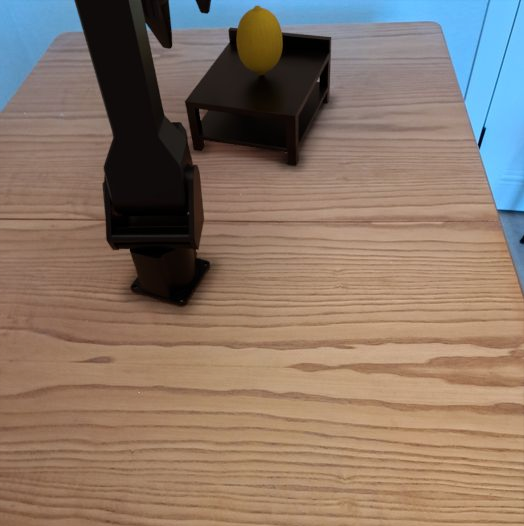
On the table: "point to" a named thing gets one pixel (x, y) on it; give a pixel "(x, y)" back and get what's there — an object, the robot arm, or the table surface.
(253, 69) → the lemon
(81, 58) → the table surface
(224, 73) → the dark coffee table
